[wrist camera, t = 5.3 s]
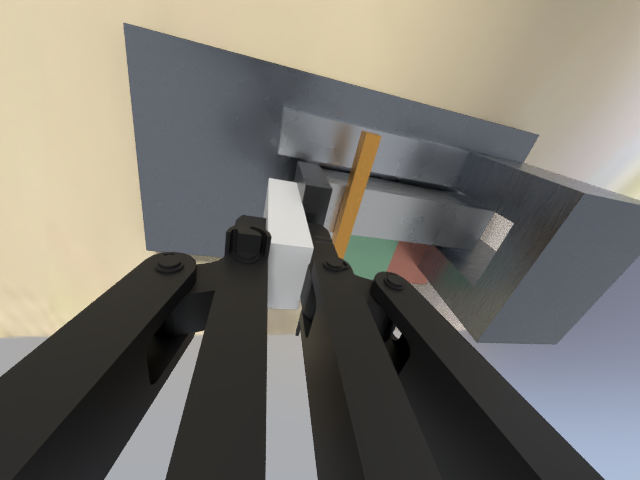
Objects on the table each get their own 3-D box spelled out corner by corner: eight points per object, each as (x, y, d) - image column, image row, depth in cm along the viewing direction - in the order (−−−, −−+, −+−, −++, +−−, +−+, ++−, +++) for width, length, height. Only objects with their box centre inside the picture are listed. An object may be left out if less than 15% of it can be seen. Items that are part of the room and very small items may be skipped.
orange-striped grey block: (301, 111, 16) (317, 127, 10) (486, 154, 19) (571, 183, 13) (279, 243, 20) (281, 303, 14) (433, 260, 23) (481, 314, 18)
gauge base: (132, 26, 14) (-97, -65, 5) (527, 132, 20) (718, 171, 11) (151, 243, 20) (61, 365, 11) (450, 272, 26) (537, 365, 18)
